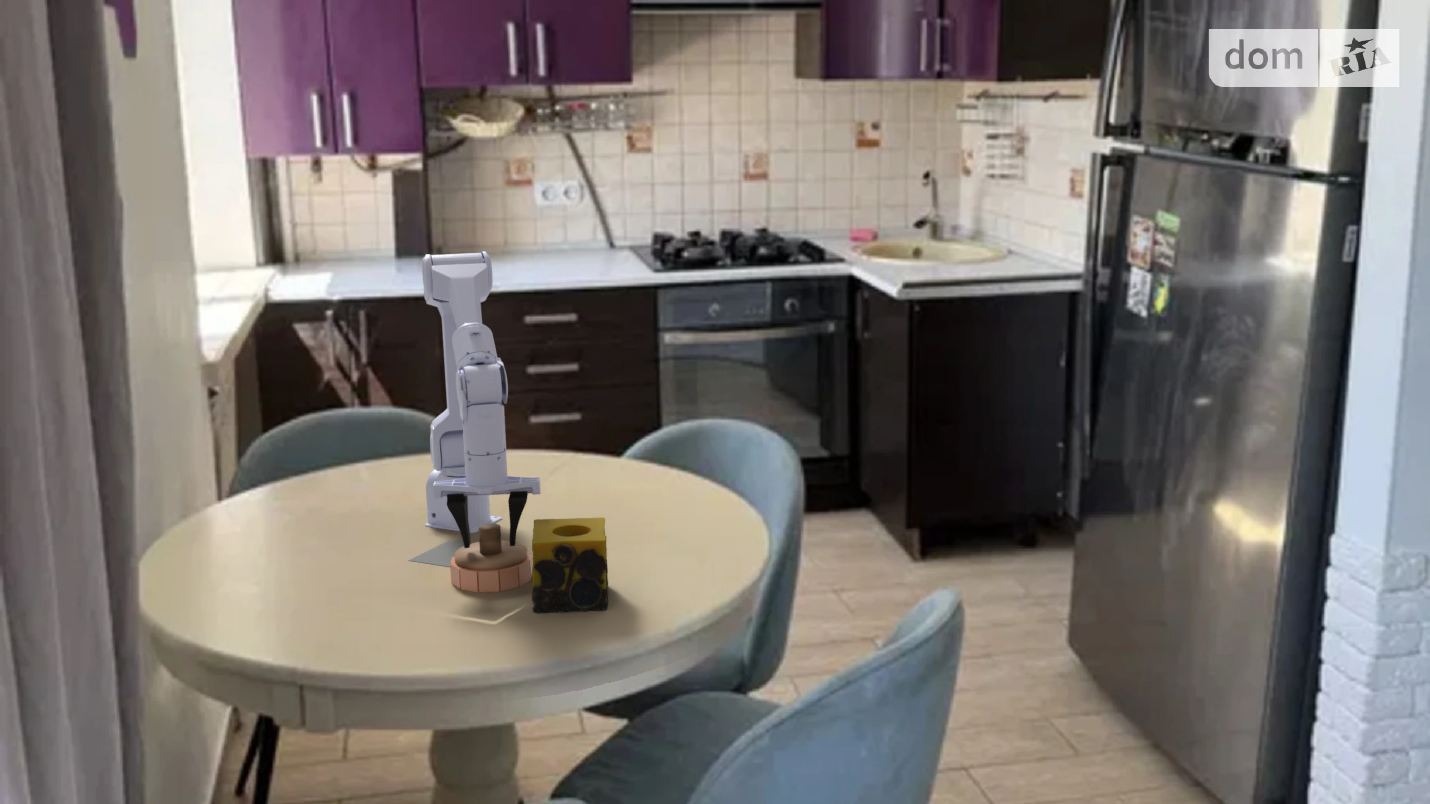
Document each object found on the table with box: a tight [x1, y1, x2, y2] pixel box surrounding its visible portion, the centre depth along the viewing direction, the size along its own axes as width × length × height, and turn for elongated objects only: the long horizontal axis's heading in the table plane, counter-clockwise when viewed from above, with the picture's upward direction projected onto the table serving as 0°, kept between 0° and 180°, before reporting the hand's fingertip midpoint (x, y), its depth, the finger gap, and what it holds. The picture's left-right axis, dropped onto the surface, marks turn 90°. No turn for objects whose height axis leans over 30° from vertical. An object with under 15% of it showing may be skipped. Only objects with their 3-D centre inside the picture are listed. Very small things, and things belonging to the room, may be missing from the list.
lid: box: [454, 523, 528, 571], centre depth 191 cm, size 10×10×5 cm
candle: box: [531, 517, 609, 614], centre depth 184 cm, size 10×10×10 cm
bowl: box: [449, 550, 533, 593], centre depth 192 cm, size 11×11×3 cm
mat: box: [408, 539, 473, 568], centre depth 202 cm, size 10×10×1 cm
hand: (490, 544), depth 191 cm, fingers open, 6 cm apart
